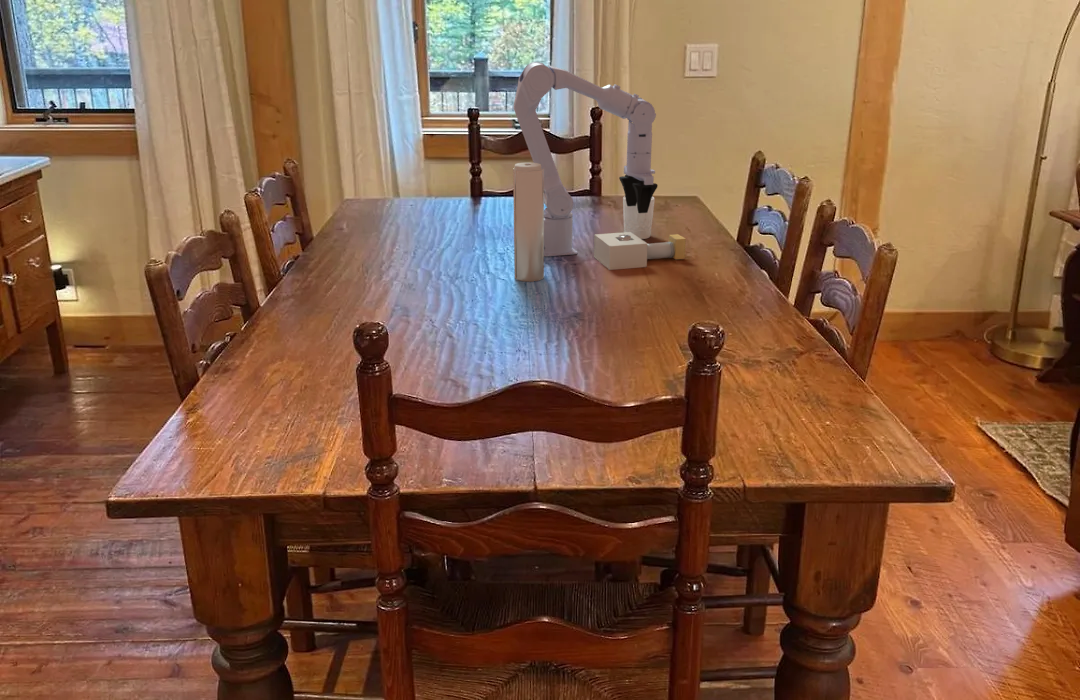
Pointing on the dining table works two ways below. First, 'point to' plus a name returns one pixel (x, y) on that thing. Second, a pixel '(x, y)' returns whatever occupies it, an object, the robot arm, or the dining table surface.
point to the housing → (620, 251)
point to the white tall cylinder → (528, 221)
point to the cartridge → (668, 248)
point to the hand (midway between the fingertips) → (637, 209)
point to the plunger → (624, 237)
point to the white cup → (638, 220)
